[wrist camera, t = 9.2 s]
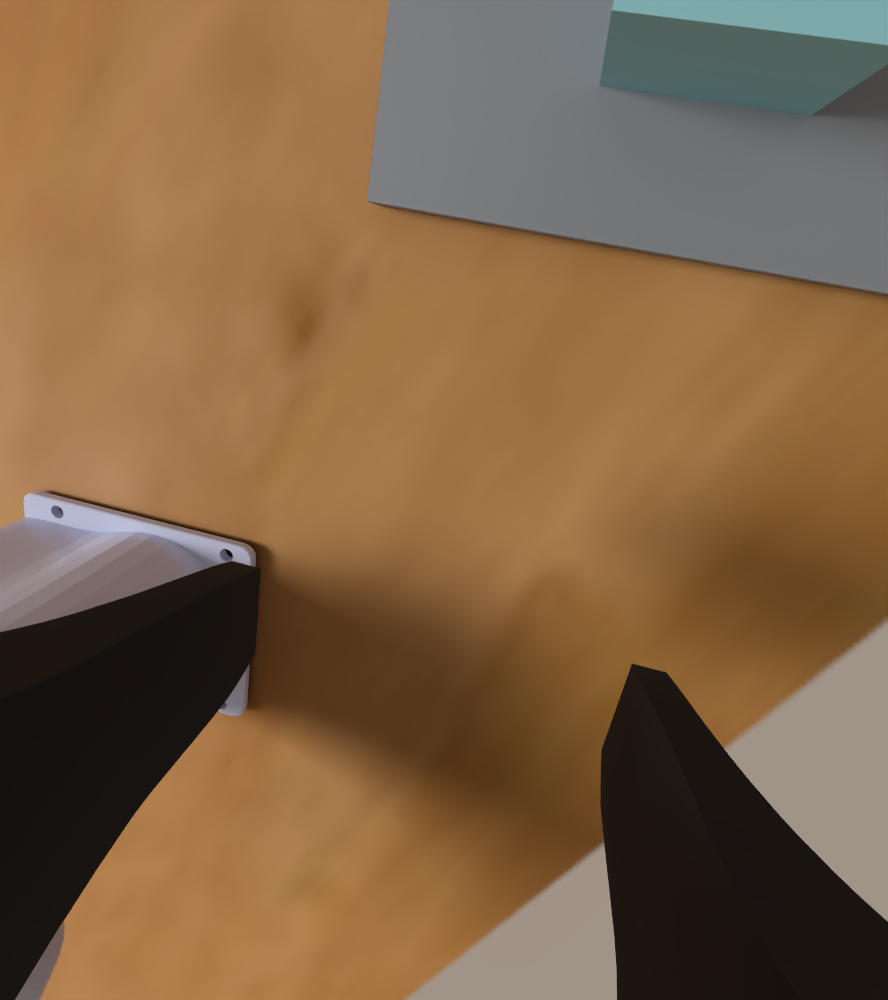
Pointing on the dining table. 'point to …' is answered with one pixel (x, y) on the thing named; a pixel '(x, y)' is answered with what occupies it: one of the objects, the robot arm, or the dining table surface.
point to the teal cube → (746, 50)
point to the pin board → (621, 148)
